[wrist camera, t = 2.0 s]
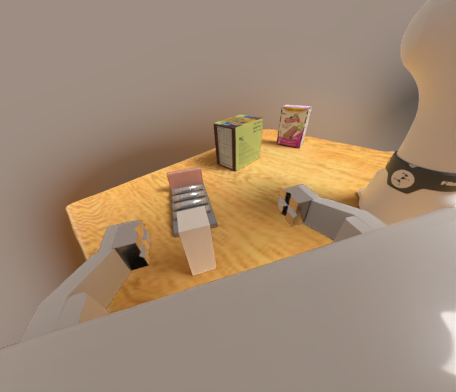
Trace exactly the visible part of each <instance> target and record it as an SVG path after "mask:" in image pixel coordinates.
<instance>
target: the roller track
mask: <svg viewBox="0 0 456 392" xmlns="http://www.w3.org/2000/svg"><path fill="white" fill-rule="evenodd" d="M167 177H168V181H169V184H170V187H171V198H172V215H173V233H174V237H178V236H179V233H178V221H177V212H179V211H183V210H188V209H192V208H197V207H201V206H204V207H205V210H206V213H207V217H208V220H209V224H210V228H214V227H217V221H216V219H215V216H214V213H213V210H212V207H211V204H210V201H209V198H208V195H207V193H206V190H205V187H204V184H203V179H202V172H201V168H200V167H196V168H190V169H184V170H178V171H173V172H167Z"/></svg>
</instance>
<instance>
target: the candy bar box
mask: <svg viewBox="0 0 456 392" xmlns="http://www.w3.org/2000/svg"><path fill="white" fill-rule="evenodd" d="M311 109H312V107H309V106H296V105H285V106H282V111H281V117H280V124H279V131H278V138H277V144H280V145H285V146H290V147H296V148H300V147H301V146H302V145H303V142H304V137H305V133H306V129H307V125H308V121H309V117H310V113H311Z"/></svg>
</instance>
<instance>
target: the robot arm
mask: <svg viewBox="0 0 456 392" xmlns="http://www.w3.org/2000/svg"><path fill="white" fill-rule="evenodd" d="M400 56H401V60H402V63H403V65H404V66H405V68H406V69H407V70H408V71H409V72H410V73H411V74H412V76H413V77H414V79H415V81H416V83H417V86H418V90H419V107H418V111H417V115H416V117H415V120H414V122H413V124H412V126H411V128H410V130H409V132H408V134H407V136H406V138H405V140H404V142H403V143H402V145H401V147H400V149H399V150H398V151H396V152H395V153H394V154H393V155H392V157H391V158H390V159H389V161H388V163H387V165H386V168H385V169H381V170H378V171H377V172H376V174H375V175H374V176H373V178H372V179H371V181H370V182H369V184H368V185H367V187H366V188H365V189H360V190H359V191H358V196H359V198H360V200H359V207H360V209H358V208H355V207H352V206H349V205H346V204H342V203H339V202H336V201H333V200H330V199H327V198H321V197H319V196H318V195H317V194H316V193H314V192H313V191H312V190H311V189H309V188H308V187H307V186H306V185H304V184H301V185H296V186H293V187H289V188H284V189H281V190H280V192H279V195H280V198H279V199H278V203H277V205H278V209H279V211H280V213H281V214H283V215H285V216H286V220H287V221H288V222H289V224H290V225H291V226H295V225H299V224H303V223H304V224H305V225H307V226H309V227H310V228H312V229H314V230H316V231H318V232H319V233H321V234H323V235H325V236H327V237H329V238H330V239H332V240H334V241H333V243H331V244H328V245H325V246H322V247H319V248H316V249H312V250H309V251H306V252H303V253H300V254H297V255H294V256H290V257H287V258H284V259H281V260H278V261H275V262H272V263H268V264H265V265H262V266H259V267H256V268H253V269H249V270H246V271H243V272H240V273H237V274H234V275H231V276H227V277H224V278H221V279H218V280H215V281H212V282H208V283H205V284H202V285H199V286H196V287H193V288H190V289H186V290H183V291H180V292H177V293H174V294H171V295H167V296H164V297H161V298H158V299H155V300H152V301H149V302H145V303H142V304H139V305H136V306H133V307H130V308H126V309H123V310H120V311H117V312H114V313H110V312H109V311H108V310H106V309H107V307H108V306H109V304H110V303H111V301H112V300H113V298H114V297H115V295H116V294H117V292H118V291H119V289H120V288H121V286H122V285H123V283H124V282H125V280H126V279H127V277H128V276H129V274H130V273H131V271H132V270H135V269H139V268H142V267H145V266H149V258H150V254H149V252H148V250H149V248H150V245H151V242H150V236H149V233H148V231H147V230H145V229H144V226H145V225H144V223H143V221H142V220H137V221H132V222H126V223H121V224H117V225H112V226H109V227H108V228H107V230H106V232H105V235H104V237H103V240H102V243H101V245H100V248H99V251H98V253H94V254H93V255H92V256H91V257H90V258H89V259H88V260H87V261H86V262H85V263H83V264H82V265H81V266H80V267H79V268H78V269H77V270H76V271H75V272H74V273H73V274H71V275H70V276H69V277H68V278H67V279H66V280H65V281H64V282H63V283H62V284H61V285H59V286H58V288H56V289H55V290H54V291H53V292H52V293H51V294H50V295H49V296H48V297H46V298H45V299H44V300H43V301H42V302H41V303H40V304H39V306H38V308H37V310H36V311H35V313H34V315H33V317H32V319H31V320H30V323H29V324H28V326H27V328H26V330H25V332H24V333H23V335H22V337H21V339H20V341H19V342H18V343H16V344H13V345H10V346H7V347H3V348H0V392H456V0H427V2H426V3H425V4H424V5H423V6H422V7H421V8H420V9H419V11H418V12H417V13H416V14H415V16H414V17H413V19H412V20H411V22H410V24H409V25H408V27H407V29H406V31H405V33H404V36H403V39H402V42H401V47H400Z"/></svg>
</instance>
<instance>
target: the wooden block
mask: <svg viewBox="0 0 456 392" xmlns="http://www.w3.org/2000/svg"><path fill="white" fill-rule="evenodd" d="M177 221H178V233H179V236H180V239H181V242H182V245H183V248H184V251H185V254H186V257H187V260H188V263H189V266H190V269H191V272H192V275H193V276H194V275H197V274H201V273H204V272H207V271H210V270H214V269H217V268H216V262H215V255H214V249H213V242H212V236H211V229H210V224H209V220H208V217H207V213H206V210H205V207H204V206H201V207H197V208H192V209H188V210H183V211H179V212H177Z"/></svg>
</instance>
